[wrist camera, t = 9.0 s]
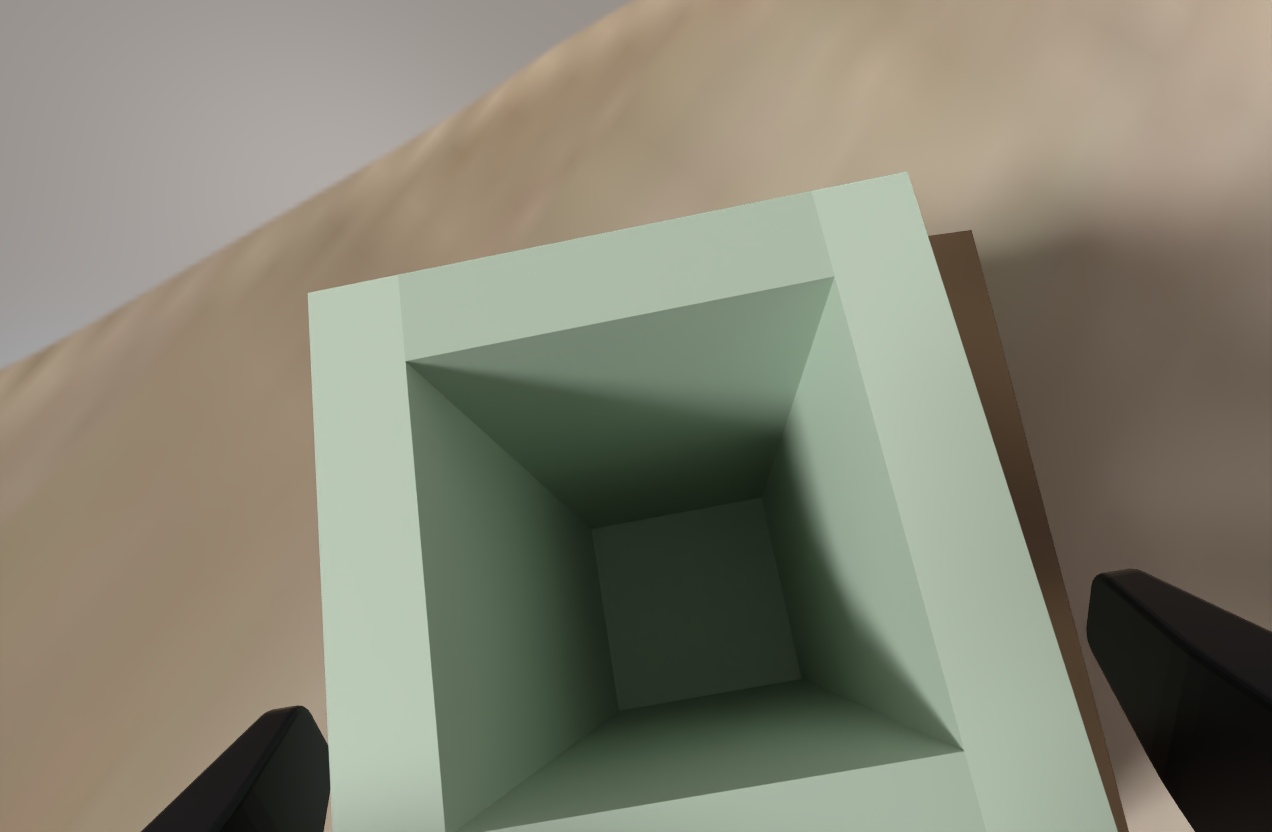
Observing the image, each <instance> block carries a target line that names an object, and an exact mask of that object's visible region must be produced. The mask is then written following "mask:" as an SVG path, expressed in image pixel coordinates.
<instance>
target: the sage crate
mask: <svg viewBox="0 0 1272 832" xmlns="http://www.w3.org/2000/svg"><path fill="white" fill-rule="evenodd" d="M308 308H309V330H310V352H311V374H312V396H313V417H314V439H315V461H316V483H317V505H318V527H319V549H320V570H321V592H322V614H323V636H324V658H325V680H326V702H327V723H328V745H329V767H330V789H331V811H332V832H1118V831H1117V828H1116V824H1115V821H1114V818H1113V815H1112V812H1111V809H1110V806H1109V802H1108V799H1107V796H1106V793H1105V790H1104V787H1103V784H1102V780H1101V777H1100V774H1099V771H1098V768H1097V765H1096V762H1095V759H1094V755H1093V752H1092V749H1091V746H1090V743H1089V740H1088V737H1087V733H1086V730H1085V727H1084V724H1083V721H1082V718H1081V715H1080V711H1079V708H1078V705H1077V702H1076V699H1075V696H1074V693H1073V690H1072V686H1071V683H1070V680H1069V677H1068V674H1067V671H1066V668H1065V664H1064V661H1063V658H1062V655H1061V652H1060V649H1059V646H1058V642H1057V639H1056V636H1055V633H1054V630H1053V627H1052V624H1051V621H1050V617H1049V614H1048V611H1047V608H1046V605H1045V602H1044V599H1043V595H1042V592H1041V589H1040V586H1039V583H1038V580H1037V577H1036V573H1035V570H1034V567H1033V564H1032V561H1031V558H1030V555H1029V552H1028V548H1027V545H1026V542H1025V539H1024V536H1023V533H1022V530H1021V526H1020V523H1019V520H1018V517H1017V514H1016V511H1015V508H1014V504H1013V501H1012V498H1011V495H1010V492H1009V489H1008V486H1007V483H1006V479H1005V476H1004V473H1003V470H1002V467H1001V464H1000V461H999V457H998V454H997V451H996V448H995V445H994V442H993V439H992V435H991V432H990V429H989V426H988V423H987V420H986V417H985V413H984V410H983V407H982V404H981V401H980V398H979V395H978V392H977V388H976V385H975V382H974V379H973V376H972V373H971V370H970V366H969V363H968V360H967V357H966V354H965V351H964V348H963V344H962V341H961V338H960V335H959V332H958V329H957V326H956V323H955V319H954V316H953V313H952V310H951V307H950V304H949V301H948V297H947V294H946V291H945V288H944V285H943V282H942V279H941V275H940V272H939V269H938V266H937V263H936V260H935V257H934V254H933V250H932V247H931V244H930V241H929V238H928V235H927V232H926V228H925V225H924V222H923V219H922V216H921V213H920V210H919V206H918V203H917V200H916V197H915V194H914V191H913V188H912V185H911V181H910V178H909V175H908V172H902V173H897V174H892V175H887V176H882V177H878V178H873V179H868V180H863V181H858V182H853V183H848V184H843V185H838V186H833V187H828V188H823V189H818V190H813V191H809V192H804V193H799V194H794V195H789V196H784V197H779V198H774V199H769V200H764V201H759V202H754V203H749V204H744V205H740V206H735V207H730V208H725V209H720V210H715V211H710V212H705V213H700V214H695V215H690V216H685V217H680V218H675V219H671V220H666V221H661V222H656V223H651V224H646V225H641V226H636V227H631V228H626V229H621V230H616V231H611V232H606V233H602V234H597V235H592V236H587V237H582V238H577V239H572V240H567V241H562V242H557V243H552V244H547V245H542V246H537V247H533V248H528V249H523V250H518V251H513V252H508V253H503V254H498V255H493V256H488V257H483V258H478V259H473V260H468V261H464V262H459V263H454V264H449V265H444V266H439V267H434V268H429V269H424V270H419V271H414V272H409V273H404V274H399V275H395V276H390V277H385V278H380V279H375V280H370V281H365V282H360V283H355V284H350V285H345V286H340V287H335V288H330V289H326V290H321V291H316V292H311V293H308Z"/></svg>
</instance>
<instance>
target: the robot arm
mask: <svg viewBox="0 0 1272 832" xmlns="http://www.w3.org/2000/svg"><path fill="white" fill-rule="evenodd" d="M1087 638H1088V643H1089V645H1090V648H1091V650H1092V653H1093V655H1094V656H1095V658H1096V660H1097V662H1098V664H1099V666H1100V668H1101V669H1102V671H1103V673H1104V675H1105V677H1106V679H1107V681H1108V683H1109V684H1110V686H1111V688H1112V690H1113V692H1114V694H1115V696H1116V698H1117V699H1118V701H1119V703H1120V705H1121V707H1122V709H1123V711H1124V713H1125V714H1126V716H1127V718H1128V720H1129V722H1130V724H1131V726H1132V728H1133V729H1134V731H1135V733H1136V735H1137V737H1138V739H1139V741H1140V743H1141V744H1142V746H1143V748H1144V750H1145V752H1146V754H1147V756H1148V757H1149V759H1150V761H1151V763H1152V765H1153V766H1154V768H1155V770H1156V772H1157V773H1158V775H1159V777H1160V779H1161V780H1162V782H1163V784H1164V785H1165V787H1166V788H1167V790H1168V792H1169V793H1170V795H1171V796H1172V798H1173V799H1174V801H1175V802H1176V804H1177V806H1178V807H1179V809H1180V810H1181V812H1182V813H1183V814H1184V816H1185V817H1186V819H1187V820H1188V822H1189V823H1190V825H1191V826H1192V828H1193V829H1194V831H1195V832H1272V632H1271V631H1269V630H1266V629H1264V628H1262V627H1260V626H1258V625H1256V624H1254V623H1252V622H1249V621H1247V620H1245V619H1243V618H1241V617H1239V616H1237V615H1234V614H1232V613H1230V612H1228V611H1226V610H1224V609H1222V608H1220V607H1217V606H1215V605H1213V604H1211V603H1209V602H1207V601H1205V600H1203V599H1200V598H1198V597H1196V596H1194V595H1192V594H1190V593H1188V592H1186V591H1183V590H1181V589H1179V588H1177V587H1175V586H1173V585H1171V584H1169V583H1166V582H1164V581H1162V580H1160V579H1158V578H1156V577H1154V576H1152V575H1149V574H1147V573H1145V572H1143V571H1140V570H1137V569H1125V570H1119V571H1113V572H1107V573H1101V574H1099V575H1097V576H1096V577H1095V578H1094V580H1093V582H1092V586H1091V594H1090V603H1089V611H1088V619H1087ZM329 794H330V767H329V746H328V745H327V743H326V741H325V739H324V737H323V735H322V734H321V732H320V730H319V728H318V726H317V724H316V722H315V721H314V719H313V717H312V715H311V713H310V712H309V710H308V709H306V708H305V707H303V706H291V707H285V708H279V709H273V710H270V711H268V712H266V713H264V714H263V715H262V716H261V717H260V718H259V719H258V720H257V721H256V722H255V723H253V724H252V725H251V726H250V727H249V728H248V729H247V730H246V731H245V732H244V733H243V734H242V735H241V736H240V737H239V738H238V739H237V740H236V741H235V742H234V743H233V744H232V745H231V746H230V747H229V748H227V749H226V750H225V751H224V752H223V753H222V754H221V755H220V756H219V757H218V758H217V759H216V760H215V761H214V762H213V763H212V764H211V765H210V766H209V767H208V768H207V769H206V770H205V771H204V772H203V773H201V774H200V775H199V776H198V777H197V778H196V779H195V780H194V781H193V782H192V783H191V784H190V785H189V786H188V787H187V788H186V789H185V790H184V791H183V792H182V793H181V794H180V795H179V796H178V797H177V798H175V799H174V800H173V801H172V802H171V803H170V804H169V805H168V806H167V807H166V808H165V809H164V810H163V811H162V812H161V813H160V814H159V815H158V816H157V817H156V818H155V819H154V820H153V821H152V822H151V823H149V824H148V825H147V826H146V827H145V828H144V829H143V830H142V831H141V832H323V831H324V825H325V819H326V813H327V807H328V801H329Z"/></svg>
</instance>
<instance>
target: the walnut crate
mask: <svg viewBox="0 0 1272 832" xmlns="http://www.w3.org/2000/svg"><path fill="white" fill-rule="evenodd" d="M928 238H929V241H930V244H931V247H932V250H933V254H934V257H935V260H936V263H937V266H938V269H939V272H940V275H941V279H942V282H943V285H944V288H945V291H946V294H947V297H948V301H949V304H950V307H951V310H952V313H953V316H954V319H955V323H956V326H957V329H958V332H959V335H960V338H961V341H962V344H963V348H964V351H965V354H966V357H967V360H968V363H969V366H970V370H971V373H972V376H973V379H974V382H975V385H976V388H977V392H978V395H979V398H980V401H981V404H982V407H983V410H984V413H985V417H986V420H987V423H988V426H989V429H990V432H991V435H992V439H993V442H994V445H995V448H996V451H997V454H998V457H999V461H1000V464H1001V467H1002V470H1003V473H1004V476H1005V479H1006V483H1007V486H1008V489H1009V492H1010V495H1011V498H1012V501H1013V504H1014V508H1015V511H1016V514H1017V517H1018V520H1019V523H1020V526H1021V530H1022V533H1023V536H1024V539H1025V542H1026V545H1027V548H1028V552H1029V555H1030V558H1031V561H1032V564H1033V567H1034V570H1035V573H1036V577H1037V580H1038V583H1039V586H1040V589H1041V592H1042V595H1043V599H1044V602H1045V605H1046V608H1047V611H1048V614H1049V617H1050V621H1051V624H1052V627H1053V630H1054V633H1055V636H1056V639H1057V642H1058V646H1059V649H1060V652H1061V655H1062V658H1063V661H1064V664H1065V668H1066V671H1067V674H1068V677H1069V680H1070V683H1071V686H1072V690H1073V693H1074V696H1075V699H1076V702H1077V705H1078V708H1079V711H1080V715H1081V718H1082V721H1083V724H1084V727H1085V730H1086V733H1087V737H1088V740H1089V743H1090V746H1091V749H1092V752H1093V755H1094V759H1095V762H1096V765H1097V768H1098V771H1099V774H1100V777H1101V780H1102V784H1103V787H1104V790H1105V793H1106V796H1107V799H1108V802H1109V806H1110V809H1111V812H1112V815H1113V818H1114V821H1115V824H1116V828H1117V831H1118V832H1129V831H1128V827H1127V823H1126V819H1125V815H1124V812H1123V808H1122V804H1121V800H1120V796H1119V792H1118V789H1117V785H1116V781H1115V777H1114V773H1113V770H1112V766H1111V762H1110V758H1109V754H1108V750H1107V747H1106V743H1105V739H1104V735H1103V731H1102V728H1101V724H1100V720H1099V716H1098V712H1097V708H1096V705H1095V701H1094V697H1093V693H1092V689H1091V685H1090V682H1089V678H1088V674H1087V670H1086V666H1085V663H1084V659H1083V655H1082V651H1081V647H1080V643H1079V640H1078V636H1077V632H1076V628H1075V624H1074V620H1073V617H1072V613H1071V609H1070V605H1069V601H1068V598H1067V594H1066V590H1065V586H1064V582H1063V578H1062V575H1061V571H1060V567H1059V563H1058V559H1057V555H1056V552H1055V548H1054V544H1053V540H1052V536H1051V533H1050V529H1049V525H1048V521H1047V517H1046V513H1045V510H1044V506H1043V502H1042V498H1041V494H1040V490H1039V487H1038V483H1037V479H1036V475H1035V471H1034V468H1033V464H1032V460H1031V456H1030V452H1029V448H1028V445H1027V441H1026V437H1025V433H1024V429H1023V425H1022V422H1021V418H1020V414H1019V410H1018V406H1017V403H1016V399H1015V395H1014V391H1013V387H1012V383H1011V380H1010V376H1009V372H1008V368H1007V364H1006V361H1005V357H1004V353H1003V349H1002V345H1001V341H1000V338H999V334H998V330H997V326H996V322H995V318H994V315H993V311H992V307H991V303H990V299H989V296H988V292H987V288H986V284H985V280H984V276H983V273H982V269H981V265H980V261H979V257H978V253H977V250H976V246H975V242H974V238H973V234H972V231H971V230H969V231H962V232H955V233H947V234H940V235H933V236H928Z"/></svg>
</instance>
